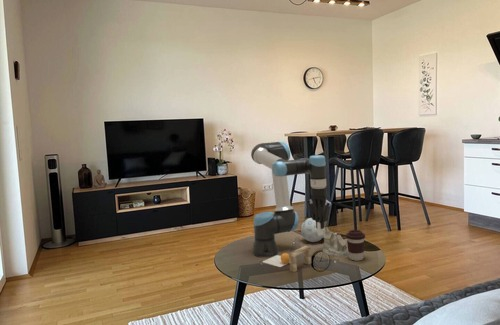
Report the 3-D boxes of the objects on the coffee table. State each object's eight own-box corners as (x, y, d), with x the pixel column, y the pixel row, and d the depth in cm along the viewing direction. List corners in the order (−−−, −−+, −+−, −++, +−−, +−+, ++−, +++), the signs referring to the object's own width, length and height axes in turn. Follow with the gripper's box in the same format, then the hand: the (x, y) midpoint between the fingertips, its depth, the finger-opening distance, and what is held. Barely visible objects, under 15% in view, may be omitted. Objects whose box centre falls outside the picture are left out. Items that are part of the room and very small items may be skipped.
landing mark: (261, 262, 203) (261, 261, 203) (277, 255, 212) (277, 255, 212) (280, 267, 194) (280, 267, 194) (295, 260, 203) (295, 259, 203)
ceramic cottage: (339, 258, 202) (338, 230, 201) (316, 252, 215) (316, 226, 214) (357, 252, 211) (356, 226, 211) (334, 247, 224) (333, 222, 224)
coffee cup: (366, 262, 194) (365, 234, 193) (347, 261, 196) (346, 234, 195) (364, 255, 204) (364, 228, 202) (346, 255, 206) (345, 228, 204)
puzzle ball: (325, 245, 225) (324, 221, 223) (300, 245, 227) (299, 221, 226) (324, 237, 240) (323, 215, 238) (301, 237, 242) (300, 215, 241)
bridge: (289, 270, 188) (289, 253, 187) (306, 262, 199) (305, 245, 198) (294, 272, 186) (293, 254, 185) (311, 263, 197) (310, 246, 196)
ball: (288, 259, 194) (284, 267, 197) (294, 256, 198) (290, 263, 201) (280, 252, 197) (277, 260, 200) (286, 249, 201) (283, 257, 204)
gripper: (302, 187, 181) (305, 234, 183) (325, 189, 172) (327, 239, 174) (311, 185, 187) (313, 230, 189) (334, 187, 177) (336, 235, 180)
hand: (320, 234), depth 182 cm, fingers closed
